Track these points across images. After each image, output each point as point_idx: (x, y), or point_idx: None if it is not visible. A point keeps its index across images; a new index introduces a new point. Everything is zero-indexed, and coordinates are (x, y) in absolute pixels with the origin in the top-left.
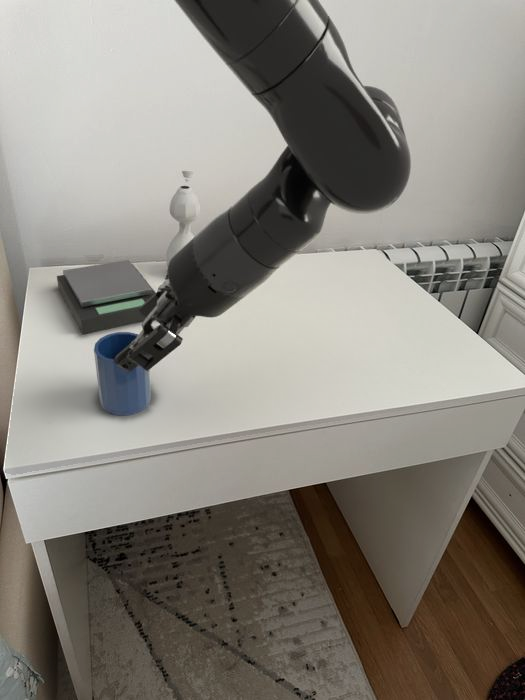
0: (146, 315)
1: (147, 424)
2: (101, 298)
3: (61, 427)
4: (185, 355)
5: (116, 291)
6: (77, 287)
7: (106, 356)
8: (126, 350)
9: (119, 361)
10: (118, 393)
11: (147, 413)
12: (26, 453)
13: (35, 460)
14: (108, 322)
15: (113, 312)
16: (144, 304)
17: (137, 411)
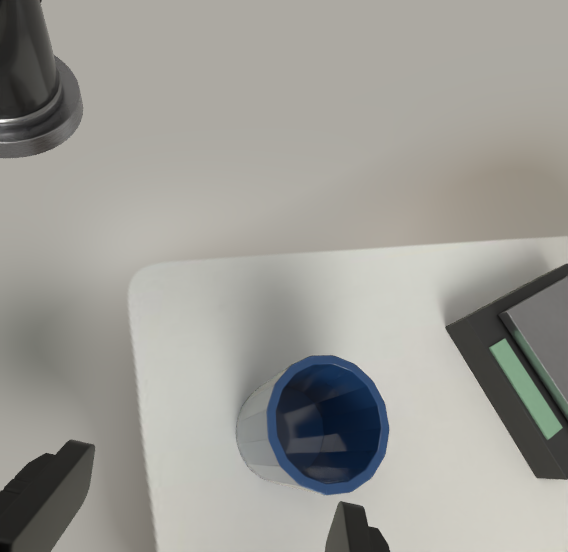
0: (332, 529)
1: (209, 487)
2: (529, 345)
3: (208, 326)
4: (428, 547)
5: (560, 372)
6: (545, 298)
7: (334, 383)
8: (9, 506)
9: (37, 466)
10: (246, 422)
11: (241, 482)
12: (151, 283)
13: (132, 298)
14: (481, 367)
15: (503, 373)
16: (354, 530)
17: (244, 460)
